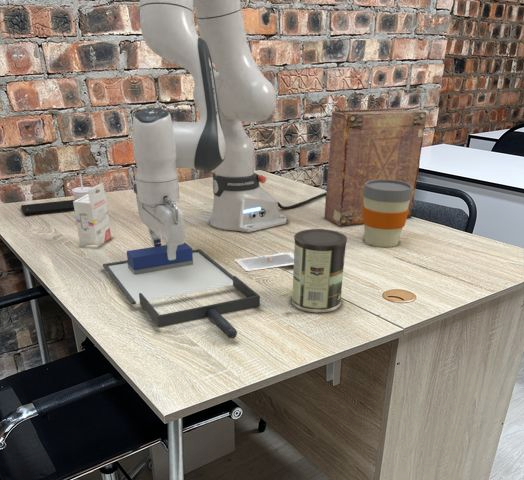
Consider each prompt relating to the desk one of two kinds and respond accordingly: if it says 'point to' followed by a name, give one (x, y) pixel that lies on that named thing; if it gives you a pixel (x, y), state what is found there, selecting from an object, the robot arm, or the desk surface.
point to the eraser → (158, 259)
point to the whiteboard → (170, 279)
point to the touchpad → (266, 261)
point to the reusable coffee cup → (385, 211)
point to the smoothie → (80, 190)
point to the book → (370, 157)
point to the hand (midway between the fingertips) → (163, 252)
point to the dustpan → (207, 310)
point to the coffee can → (318, 270)
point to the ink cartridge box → (92, 217)
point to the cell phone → (48, 207)
